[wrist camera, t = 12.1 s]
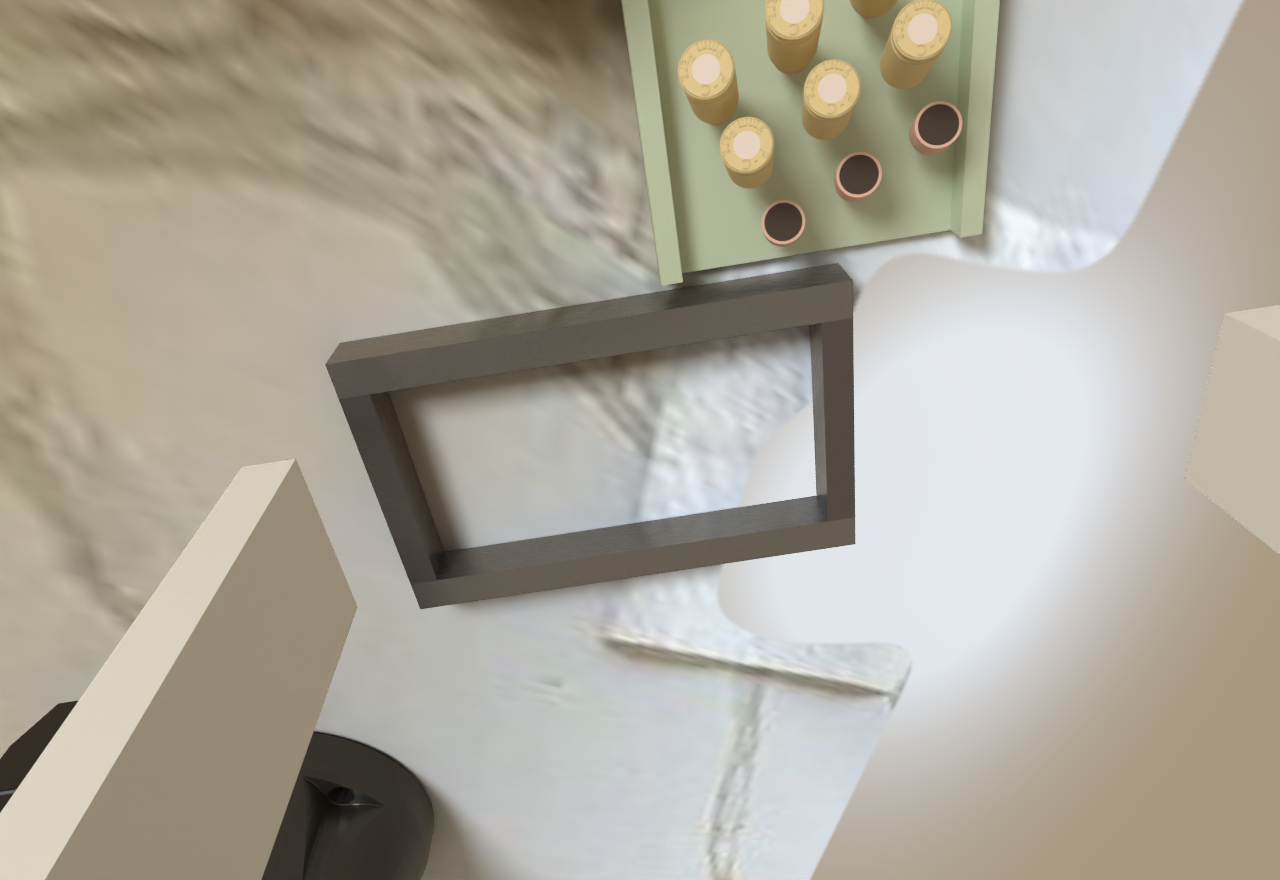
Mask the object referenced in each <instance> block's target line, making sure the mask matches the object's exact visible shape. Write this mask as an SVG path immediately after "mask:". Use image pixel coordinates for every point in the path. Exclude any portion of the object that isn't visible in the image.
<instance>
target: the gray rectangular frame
mask: <svg viewBox="0 0 1280 880" xmlns="http://www.w3.org/2000/svg"><path fill="white" fill-rule="evenodd" d="M805 325H810V340H811V365H812V390H813V415H814V440H815V464H816V489H817V496H812V497H806V498H799V499H792V500H786V501H779V502H773V503H766V504H760V505H753V506H746V507H740V508H733V509H726V510H720V511H713V512H707V513H700V514H693V515H687V516H680V517H674V518H667V519H661V520H654V521H647V522H641V523H634V524H628V525H621V526H614V527H608V528H601V529H595V530H588V531H582V532H575V533H568V534H562V535H555V536H549V537H542V538H536V539H529V540H522V541H516V542H509V543H503V544H496V545H489V546H483V547H476V548H470V549H463V550H457V551H450V552H444V550H443V547H442V545H441V542H440V539H439V536H438V533H437V530H436V527H435V525H434V522H433V519H432V516H431V513H430V510H429V507H428V505H427V502H426V499H425V496H424V493H423V490H422V488H421V485H420V482H419V479H418V476H417V473H416V470H415V468H414V465H413V462H412V459H411V456H410V453H409V450H408V448H407V445H406V442H405V439H404V436H403V433H402V430H401V428H400V425H399V422H398V419H397V416H396V413H395V411H394V408H393V405H392V402H391V399H390V396H389V393H388V391H394V390H400V389H406V388H413V387H419V386H425V385H432V384H438V383H444V382H451V381H457V380H463V379H470V378H476V377H482V376H489V375H495V374H501V373H508V372H514V371H520V370H527V369H533V368H539V367H545V366H552V365H558V364H564V363H571V362H577V361H583V360H590V359H596V358H602V357H609V356H615V355H621V354H628V353H634V352H640V351H647V350H653V349H659V348H666V347H672V346H678V345H685V344H691V343H697V342H703V341H710V340H716V339H722V338H729V337H735V336H741V335H748V334H754V333H760V332H767V331H773V330H779V329H786V328H792V327H798V326H805ZM325 365H326V367H327V370H328V372H329V375H330V378H331V380H332V383H333V385H334V388H335V390H336V393H337V396H338V398H339V401H340V403H341V406H342V408H343V411H344V414H345V416H346V419H347V421H348V424H349V426H350V429H351V432H352V434H353V437H354V439H355V442H356V444H357V447H358V450H359V452H360V455H361V457H362V460H363V462H364V465H365V468H366V470H367V473H368V475H369V478H370V480H371V483H372V486H373V488H374V491H375V493H376V496H377V498H378V501H379V504H380V506H381V509H382V511H383V514H384V516H385V519H386V522H387V524H388V527H389V529H390V532H391V534H392V537H393V540H394V542H395V545H396V547H397V550H398V552H399V555H400V558H401V560H402V563H403V565H404V568H405V570H406V573H407V576H408V578H409V581H410V583H411V586H412V588H413V591H414V594H415V596H416V599H417V601H418V604H419V606H420V609H425V608H432V607H438V606H445V605H452V604H458V603H465V602H472V601H478V600H485V599H492V598H498V597H505V596H512V595H518V594H525V593H532V592H538V591H545V590H552V589H558V588H565V587H572V586H578V585H585V584H592V583H598V582H605V581H612V580H618V579H625V578H632V577H638V576H645V575H652V574H658V573H665V572H672V571H678V570H685V569H692V568H698V567H705V566H712V565H718V564H725V563H732V562H738V561H745V560H751V559H758V558H765V557H772V556H778V555H785V554H791V553H798V552H804V551H811V550H818V549H825V548H831V547H838V546H845V545H851V544H855V477H854V385H853V384H854V383H853V382H854V377H853V376H854V375H853V280H852V279H851V278H850V277H849V276H848V274H847V273H846V272H845V271H844V270H843V269H842V267H841V266H840V265H839V264H838V263H837V264H831V265H824V266H818V267H812V268H806V269H799V270H793V271H787V272H781V273H775V274H768V275H762V276H756V277H750V278H743V279H737V280H731V281H725V282H718V283H712V284H706V285H700V286H693V287H687V288H681V289H675V290H668V291H662V292H656V293H650V294H644V295H637V296H631V297H625V298H619V299H612V300H606V301H600V302H594V303H587V304H581V305H575V306H569V307H562V308H556V309H550V310H544V311H537V312H531V313H525V314H519V315H512V316H506V317H500V318H494V319H488V320H481V321H475V322H469V323H463V324H456V325H450V326H444V327H438V328H431V329H425V330H419V331H413V332H406V333H400V334H394V335H388V336H381V337H375V338H369V339H363V340H357V341H350V342H344V343H340V344H339V345H338V347H337V348H336V350H335V351H334V353H333V354H332V355H331V357H330V358H329V360H328V361H327V363H326V364H325Z"/></svg>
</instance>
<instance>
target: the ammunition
mask: <svg viewBox="0 0 1280 880" xmlns="http://www.w3.org/2000/svg"><path fill="white" fill-rule="evenodd" d="M897 1H898V0H850V3H851V5H852V7H853V9H854V10H855V11H856V12H857V13H858V14H859V15H861V16H862V17H864V18H866V19H869V18H875V17H879V16H882V15H884V14H885V13H887V12H888V11H889V10H890V9H892V8H893V6H894V5H895V4H896V2H897ZM823 14H824V0H767V1H766V6H765V21H766V36H767V51H768V56H769V58H770V60H771V62H772V63H773V64H774V66H775V67H776V68H777V69H778V70H779V71H780V72H782V73H785V74H789V75H792V74H797V73H799V72H801V71H803V70H804V69H805V68H806V67H807V66H808V65H809V64H810V62H811V61H812V60H813V58H814V57H815V55H816V52H817V48H818V42H819V37H820V31H821V25H822V20H823ZM951 33H952V19H951V16H950V13H949V11H948V10H947V9H946V7H945V6H944V5H942V4H941V3H939V2H938V1H935V0H916V1H913V2H911V3H909V4H908V5H907V6H905V7H904V8H903V9H902V10H901V11H900V12H899V14H898V16H897V17H896V19H895V22H894V24H893V27H892V30H891V33H890V35H889V38H888V41H887V43H886V46H885V49H884V51H883V54H882V57H881V60H880V71H881V75H882V77H883V79H884V80H885V81H886V82H887V83H888V84H889V85H890V86H892V87H894V88H897V89H908V88H912V87H914V86H916V85H918V84H919V83H920V82H922V80H923V79H924V78H925V77H926V75H927V74H928V72H929V71H930V69H931V68H932V66H933V65H934V63H935V62H936V60H937V59H938V57H939V56H940V54H941V53H942V51H943V49H944V48H945V46H946V45H947V43H948V42H949V39H950V37H951ZM678 77H679V81H680V84H681V86H682V88H683V90H684V93H685V95H686V97H687V99H688V102H689V104H690V106H691V108H692V110H693V113H694V114H695V115H696V117H697V118H698V119H700V120H701V121H703V122H705V123H707V124H710V125H720V124H723V123H725V122H727V121H728V120H729V119H730V118H731V117H732V115H733V113H734V112H735V110H736V108H737V105H738V101H739V92H738V85H737V78H736V71H735V64H734V60H733V57H732V54H731V52H730V51H729V50H728V48H727V47H726V46H725V45H723V44H722V43H720V42H718V41H715V40H709V39H707V40H701V41H698V42H695V43H694V44H692V45H691V46H689V47H688V48H687V49H686V51H685V52H684V53H683V55H682V57H681V59H680V62H679V65H678ZM860 91H861V82H860V77H859V75H858V73H857V71H856V70H855V69H854V67H852V66H851V65H850V64H849V63H847V62H845V61H842V60H836V59H833V60H827V61H824V62H822V63H820V64H818V65H817V66H816V67H814V68H813V69H812V71H811V72H810V73H809V75H808V76H807V78H806V81H805V85H804V92H803V103H802V124H803V126H804V129H805V130H806V132H807V133H808V134H809V135H810V136H812V137H814V138H816V139H819V140H829V139H833V138H835V137H837V136H838V135H840V134H841V133H842V132H843V131H844V130H845V128H846V127H847V125H848V123H849V120H850V118H851V115H852V113H853V111H854V108H855V106H856V103H857V101H858V98H859V95H860ZM961 129H962V116H961V114H960V111H959V110H958V109H957V107H955V106H954V105H953V104H951V103H949V102H946V101H936V102H932V103H930V104H928V105H926V106H925V107H924V108H923V109H922V110H921V111H920V112H919V114H918V115H917V117H916V118H915V120H914V121H913V123H912V125H911V127H910V131H909V138H910V142H911V144H912V146H913V147H914V149H915V150H917V151H918V152H920V153H921V154H924V155H936V154H939V153H941V152H943V151H944V150H946V149H947V148H948V147H949V146H950V145H951V144H952V143H953V142H954V141H955V140H956V139H957V137H958V136H959V134H960V132H961ZM720 153H721V157H722V159H723V162H724V164H725V167H726V169H727V172H728V174H729V177H730V178H731V180H732V181H733V182H734V183H735V184H736V185H738V186H740V187H743V188H748V189H750V188H756V187H759V186H761V185H762V184H764V183H765V182H766V181H767V180H768V179H769V177H770V175H771V174H772V171H773V166H774V138H773V134H772V132H771V129H770V128H769V127H768V125H767V124H766V123H764V122H763V121H762V120H760V119H758V118H755V117H742V118H739V119H737V120H735V121H733V122H732V123H731V124H729V125H728V126H727V128H726V129H725V130H724V132H723V134H722V136H721V139H720ZM881 177H882V169H881V165H880V163H879V161H878V160H877V158H876V157H874V156H873V155H872V154H870V153H867V152H854V153H851V154H849V155H848V156H846V157H845V158H844V159H843V160H842V161H841V163H840V164H839V166H838V169H837V171H836V174H835V178H834V185H835V189H836V191H837V193H838V195H839V196H840V197H841V198H842V199H844V200H846V201H849V202H859V201H862V200H864V199H866V198H868V197H869V196H870V195H871V194H872V193H873V192H874V191H875V190H876V188H877V187H878V185H879V183H880V181H881ZM761 222H762V230H763V234H764V236H765V238H766V239H767V240H768V241H769V242H770V243H771V244H773V245H775V246H779V247H786V246H789V245H792V244H794V243H795V242H796V241H797V240H798V239H799V238H800V237H801V235H802V233H803V230H804V227H805V215H804V212H803V210H802V209H801V207H800V206H799V205H798V204H796V203H795V202H793V201H790V200H779V201H776V202H774V203H772V204H771V205H769V206H768V208H767V209H766V210H765V212H764V214H763V216H762V221H761Z"/></svg>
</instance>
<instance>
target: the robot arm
mask: <svg viewBox="0 0 1280 880" xmlns="http://www.w3.org/2000/svg"><path fill="white" fill-rule="evenodd" d="M1184 479H1185V480H1187V481H1188V482H1189V483H1190V484H1192V485H1193V486H1194V487H1195V488H1197V489H1198V490H1200V492H1202V493H1203V494H1204V495H1206V496H1207V497H1208V498H1210V499H1211V500H1212V501H1213V502H1214V503H1216V504H1217V505H1218V506H1219V507H1221V508H1222V509H1223V510H1224V511H1226V512H1227V513H1228V514H1229V515H1231V516H1232V517H1233V518H1234V519H1236V520H1237V521H1238V522H1239V523H1241V524H1242V525H1243V526H1244V527H1246V528H1247V529H1248V530H1249V531H1251V532H1252V533H1253V534H1254V535H1256V536H1257V537H1258V538H1260V539H1261V540H1262V541H1263V542H1264V543H1266V544H1267V545H1268V546H1269V547H1271V548H1272V549H1273V550H1275V551H1276V552H1277V553H1278V554H1280V305H1277V306H1270V307H1264V308H1258V309H1252V310H1245V311H1239V312H1232V313H1226V314H1225V316H1224V320H1223V324H1222V328H1221V332H1220V336H1219V340H1218V344H1217V348H1216V352H1215V356H1214V360H1213V364H1212V368H1211V372H1210V376H1209V380H1208V384H1207V388H1206V392H1205V396H1204V400H1203V404H1202V409H1201V413H1200V417H1199V421H1198V425H1197V429H1196V433H1195V437H1194V441H1193V445H1192V449H1191V453H1190V457H1189V461H1188V465H1187V469H1186V473H1185V478H1184ZM356 609H357V605H356V602H355V600H354V597H353V595H352V593H351V590H350V588H349V585H348V583H347V581H346V578H345V576H344V573H343V571H342V569H341V566H340V564H339V561H338V559H337V557H336V554H335V552H334V549H333V547H332V545H331V542H330V540H329V538H328V535H327V533H326V530H325V528H324V526H323V523H322V521H321V518H320V516H319V514H318V511H317V509H316V506H315V504H314V502H313V499H312V497H311V494H310V492H309V490H308V487H307V485H306V482H305V480H304V478H303V475H302V473H301V470H300V468H299V466H298V463H297V461H296V459H291V460H284V461H278V462H272V463H265V464H259V465H252V466H246V467H242V468H241V469H240V470H239V472H238V473H237V475H236V476H235V478H234V479H233V480H232V482H231V483H230V485H229V486H228V488H227V489H226V490H225V492H224V493H223V495H222V496H221V498H220V499H219V500H218V502H217V503H216V505H215V506H214V508H213V509H212V510H211V512H210V513H209V515H208V516H207V518H206V519H205V521H204V522H203V523H202V525H201V526H200V528H199V529H198V531H197V532H196V533H195V535H194V536H193V538H192V539H191V541H190V542H189V543H188V545H187V546H186V548H185V549H184V551H183V552H182V553H181V555H180V556H179V558H178V559H177V561H176V562H175V563H174V565H173V566H172V568H171V569H170V571H169V572H168V573H167V575H166V576H165V578H164V579H163V581H162V582H161V584H160V585H159V586H158V588H157V589H156V591H155V592H154V594H153V595H152V596H151V598H150V599H149V601H148V602H147V604H146V605H145V606H144V608H143V609H142V611H141V612H140V614H139V615H138V616H137V618H136V619H135V621H134V622H133V624H132V625H131V626H130V628H129V629H128V631H127V632H126V634H125V635H124V636H123V638H122V639H121V641H120V642H119V644H118V645H117V647H116V648H115V649H114V651H113V652H112V654H111V655H110V657H109V658H108V659H107V661H106V662H105V664H104V665H103V667H102V668H101V669H100V671H99V672H98V674H97V675H96V677H95V678H94V679H93V681H92V682H91V684H90V685H89V687H88V688H87V689H86V691H85V692H84V694H83V695H82V697H81V698H80V699H79V701H73V702H66V703H60V704H58V705H56V706H55V707H54V708H53V709H52V710H51V711H50V712H48V713H47V714H46V715H45V716H44V717H43V718H42V719H41V720H39V721H38V722H37V723H36V724H35V725H34V726H33V727H31V728H30V729H29V730H28V731H27V732H26V733H25V734H23V735H22V736H21V737H20V738H19V739H18V740H17V741H15V742H14V743H13V744H12V745H11V746H10V747H9V748H8V750H7V751H6V752H5V754H4V755H3V756H2V758H1V759H0V880H421V878H422V876H423V873H424V870H425V868H426V865H427V861H428V856H429V851H430V846H431V840H432V835H433V830H434V814H433V809H432V806H431V803H430V800H429V798H428V796H427V794H426V793H425V791H424V790H423V788H422V787H421V786H420V784H419V783H418V782H417V781H416V780H415V779H414V777H413V776H412V775H410V774H409V773H408V772H407V771H406V770H405V769H404V768H402V767H401V766H400V765H398V764H397V763H395V762H394V761H393V760H391V759H389V758H388V757H386V756H384V755H382V754H381V753H379V752H377V751H375V750H372V749H370V748H368V747H366V746H363V745H361V744H358V743H355V742H352V741H349V740H346V739H342V738H339V737H335V736H330V735H326V734H320V733H314V729H315V726H316V723H317V720H318V717H319V715H320V712H321V709H322V706H323V703H324V700H325V698H326V695H327V692H328V689H329V686H330V683H331V680H332V678H333V675H334V672H335V669H336V666H337V663H338V661H339V658H340V655H341V652H342V649H343V646H344V644H345V641H346V638H347V635H348V632H349V629H350V626H351V624H352V621H353V618H354V615H355V612H356Z"/></svg>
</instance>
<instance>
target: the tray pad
mask: <svg viewBox="0 0 1280 880" xmlns="http://www.w3.org/2000/svg"><path fill="white" fill-rule="evenodd" d="M766 1H767V0H621V5H622V13H623V20H624V27H625V34H626V41H627V48H628V55H629V63H630V70H631V77H632V84H633V91H634V98H635V105H636V112H637V120H638V127H639V134H640V141H641V148H642V155H643V162H644V170H645V177H646V184H647V191H648V198H649V205H650V212H651V220H652V227H653V234H654V241H655V248H656V255H657V262H658V269H659V275H660V280H661V284H662V286H663V285H669V284H675V283H681V282H683V278H682V273H687V272H693V271H699V270H705V269H712V268H718V267H724V266H730V265H736V264H743V263H749V262H755V261H761V260H768V259H774V258H780V257H786V256H792V255H799V254H805V253H811V252H817V251H824V250H830V249H836V248H842V247H848V246H855V245H861V244H867V243H873V242H879V241H886V240H892V239H898V238H904V237H911V236H917V235H923V234H929V233H935V232H942V231H948V230H951V231H952V232H953V233H955V234H956V235H958V236H959V237H960V238H962V237H968V236H974V235H980V234H982V230H983V217H984V203H985V190H986V177H987V164H988V151H989V137H990V124H991V111H992V98H993V84H994V71H995V58H996V45H997V31H998V18H999V5H1000V0H935V1H938V2H939V3H941V4H942V5H944V6H945V7H946V9H947V10H948V11H949V13H950V16H951V19H952V33H951V37H950V39H949V42H948V43H947V45H946V46H945V48H944V49H943V51H942V53H941V54H940V56H939V57H938V59H937V60H936V62H935V63H934V65H933V66H932V68H931V69H930V71H929V72H928V74H927V75H926V77H925V78H924V79H923V80H922V82H920V83H919V84H918V85H916V86H914V87H912V88H908V89H897V88H894V87H892V86H890V85H889V84H888V83H887V82H886V81H885V80H884V79H883V77H882V75H881V71H880V60H881V57H882V54H883V51H884V49H885V46H886V43H887V41H888V38H889V35H890V33H891V30H892V27H893V24H894V22H895V19H896V17H897V16H898V14H899V12H900V11H901V10H902V9H903V8H904V7H905V6H907V5H908V4H909V3H911V2H913V1H916V0H898V1H897V2H896V4H895V5H894V6H893V8H892V9H890V10H889V11H888V12H887V13H885V14H884V15H882V16H879V17H875V18H869V19H866V18H864V17H862V16H861V15H859V14H858V13H857V12H856V11H855V10H854V9H853V7H852V5H851V3H850V0H824V14H823V20H822V25H821V31H820V37H819V42H818V48H817V52H816V55H815V57H814V58H813V60H812V61H811V62H810V64H809V65H808V66H807V67H806V68H805V69H804V70H803V71H801V72H799V73H797V74H792V75H789V74H785V73H782V72H780V71H779V70H778V69H777V68H776V67H775V66H774V64H773V63H772V62H771V60H770V58H769V56H768V51H767V36H766V21H765V6H766ZM707 39H709V40H715V41H718V42H720V43H722V44H723V45H725V46H726V47H727V48H728V50H729V51H730V52H731V54H732V57H733V60H734V64H735V71H736V78H737V85H738V92H739V101H738V105H737V108H736V110H735V112H734V113H733V115H732V117H731V118H730V119H729V120H728V121H727V122H725V123H723V124H720V125H710V124H707V123H705V122H703V121H701V120H700V119H698V118H697V117H696V115H695V114H694V113H693V110H692V108H691V106H690V104H689V102H688V99H687V97H686V95H685V93H684V90H683V88H682V86H681V84H680V81H679V77H678V65H679V62H680V59H681V57H682V55H683V53H684V52H685V51H686V49H687V48H688V47H689V46H691V45H692V44H694V43H695V42H698V41H701V40H707ZM833 59H836V60H842V61H845V62H847V63H849V64H850V65H851V66H852V67H854V69H855V70H856V71H857V73H858V75H859V77H860V82H861V91H860V95H859V98H858V101H857V103H856V106H855V108H854V111H853V113H852V115H851V118H850V120H849V123H848V125H847V127H846V128H845V130H844V131H843V132H842V133H841V134H840V135H838V136H837V137H835V138H833V139H829V140H819V139H816V138H814V137H812V136H810V135H809V134H808V133H807V132H806V130H805V129H804V126H803V124H802V103H803V92H804V85H805V81H806V78H807V76H808V75H809V73H810V72H811V71H812V69H813V68H814V67H816V66H817V65H818V64H820V63H822V62H824V61H827V60H833ZM936 101H946V102H949V103H951V104H953V105H954V106H955V107H957V109H958V110H959V111H960V114H961V116H962V129H961V132H960V134H959V136H958V137H957V139H956V140H955V141H954V142H953V143H952V144H951V145H950V146H949V147H948V148H947V149H946V150H944V151H943V152H941V153H939V154H936V155H924V154H921V153H920V152H918V151H917V150H915V149H914V147H913V146H912V144H911V142H910V138H909V131H910V127H911V125H912V123H913V121H914V120H915V118H916V117H917V115H918V114H919V112H920V111H921V110H922V109H923V108H924V107H925V106H926V105H928V104H930V103H932V102H936ZM742 117H755V118H758V119H760V120H762V121H763V122H764V123H766V124H767V125H768V127H769V128H770V129H771V132H772V134H773V138H774V166H773V171H772V174H771V175H770V177H769V179H768V180H767V181H766V182H765V183H764V184H762V185H761V186H759V187H756V188H750V189H748V188H743V187H740V186H738V185H736V184H735V183H734V182H733V181H732V180H731V178H730V177H729V174H728V172H727V169H726V167H725V164H724V162H723V159H722V157H721V153H720V139H721V136H722V134H723V132H724V130H725V129H726V128H727V126H728V125H729V124H731V123H732V122H733V121H735V120H737V119H739V118H742ZM854 152H867V153H870V154H872V155H873V156H874V157H876V158H877V160H878V161H879V163H880V165H881V169H882V177H881V181H880V183H879V185H878V187H877V188H876V190H875V191H874V192H873V193H872V194H871V195H870V196H869V197H868V198H866V199H864V200H862V201H859V202H849V201H846V200H844V199H842V198H841V197H840V196H839V195H838V193H837V191H836V189H835V185H834V178H835V174H836V171H837V169H838V166H839V164H840V163H841V161H842V160H843V159H844V158H845V157H846V156H848V155H849V154H851V153H854ZM779 200H790V201H793V202H795V203H796V204H798V205H799V206H800V207H801V209H802V210H803V212H804V215H805V227H804V230H803V233H802V235H801V237H800V238H799V239H798V240H797V241H796V242H795V243H794V244H792V245H789V246H786V247H779V246H775V245H773V244H771V243H770V242H769V241H768V240H767V239H766V238H765V236H764V234H763V230H762V222H761V221H762V216H763V214H764V212H765V210H766V209H767V208H768V206H769V205H771V204H772V203H774V202H776V201H779Z"/></svg>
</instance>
